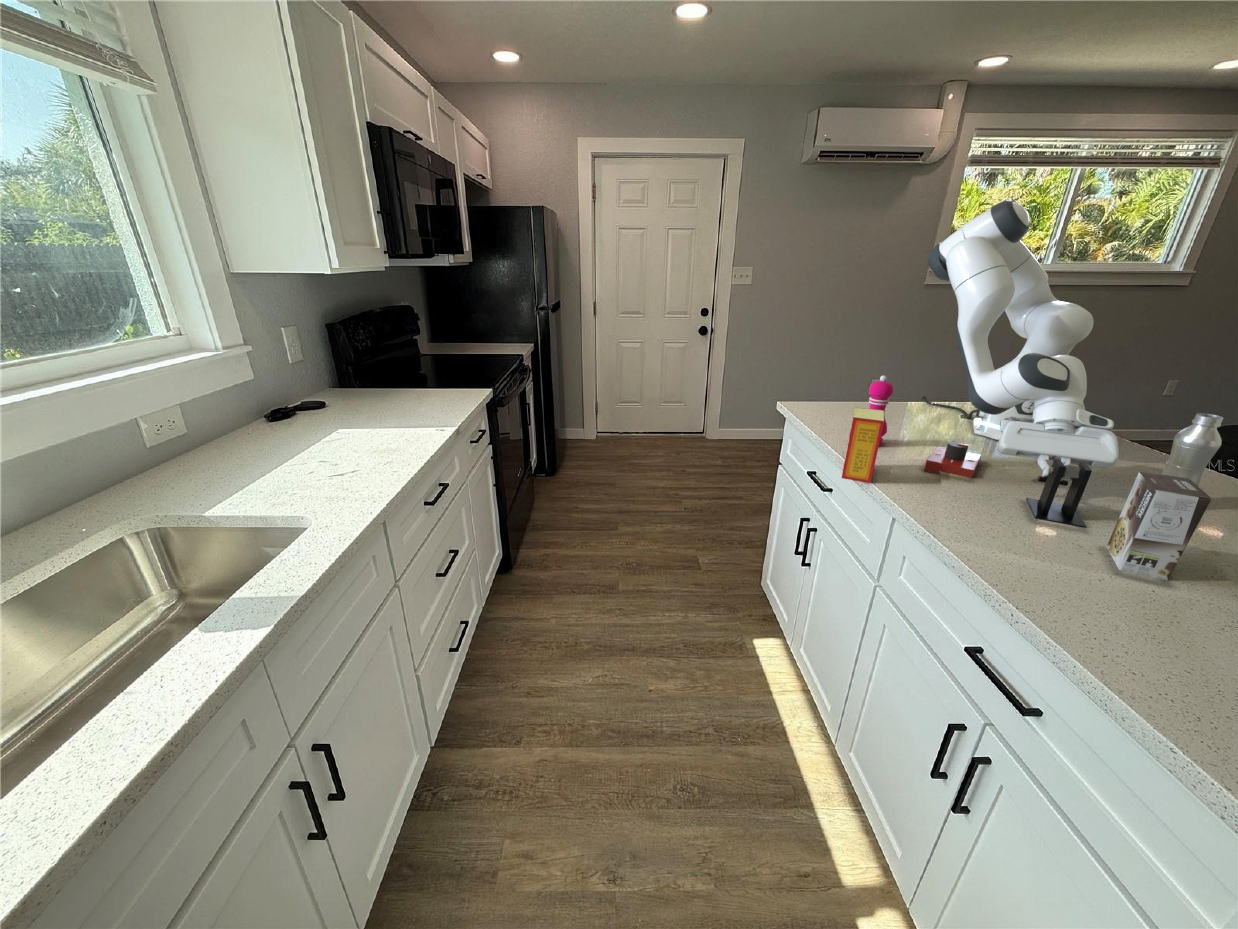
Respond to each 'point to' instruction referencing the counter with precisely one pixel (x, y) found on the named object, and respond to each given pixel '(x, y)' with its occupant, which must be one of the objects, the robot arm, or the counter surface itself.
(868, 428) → the baking soda box
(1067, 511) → the bracket
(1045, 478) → the press lever
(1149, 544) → the coffee box
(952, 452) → the dial
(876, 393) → the pepper mill
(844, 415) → the counter surface
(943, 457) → the dial panel
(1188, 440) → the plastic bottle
